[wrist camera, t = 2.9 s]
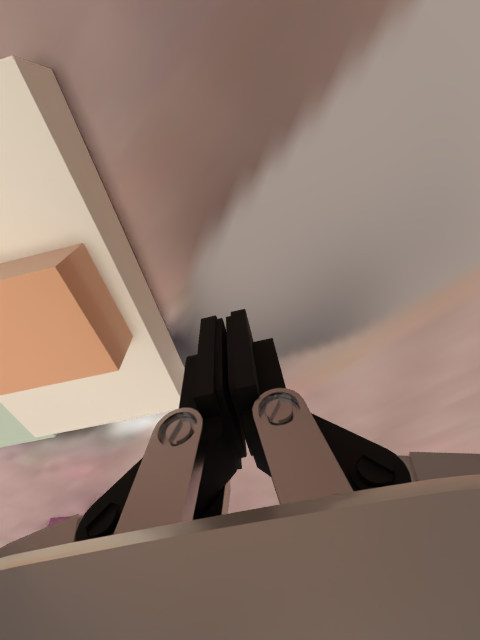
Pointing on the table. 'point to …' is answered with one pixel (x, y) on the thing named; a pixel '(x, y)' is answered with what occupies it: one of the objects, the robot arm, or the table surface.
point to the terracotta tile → (57, 321)
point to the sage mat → (14, 430)
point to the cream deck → (67, 230)
